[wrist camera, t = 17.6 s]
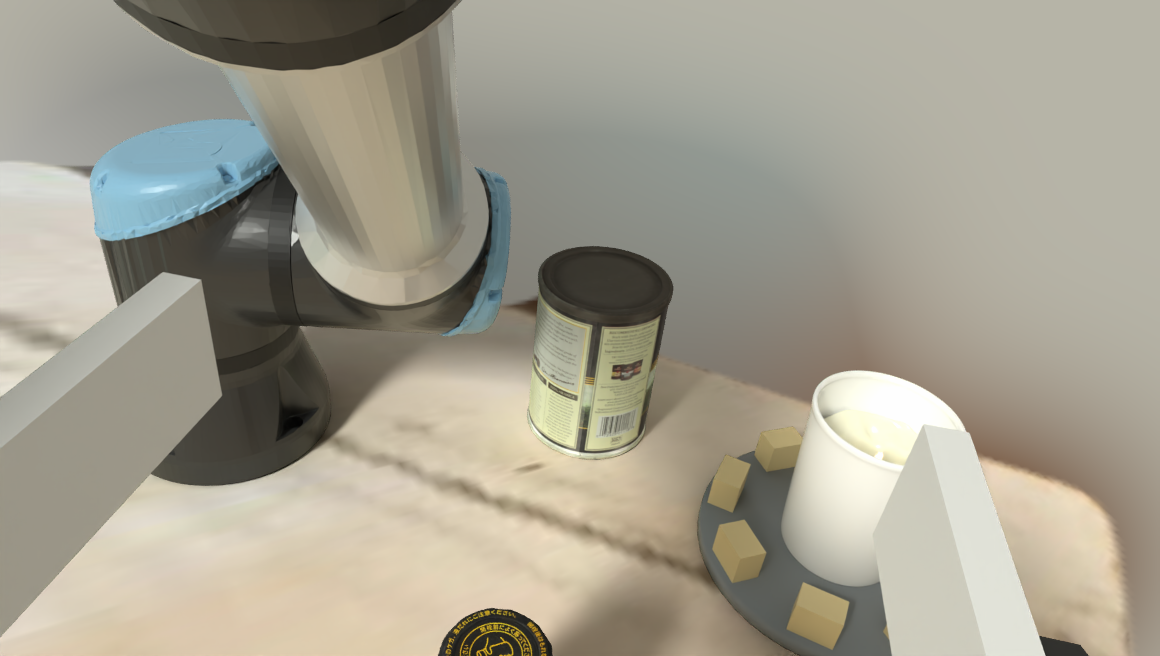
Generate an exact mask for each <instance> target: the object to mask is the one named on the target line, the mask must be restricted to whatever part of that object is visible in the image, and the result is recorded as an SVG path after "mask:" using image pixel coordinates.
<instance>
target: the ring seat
mask: <svg viewBox="0 0 1160 656" xmlns="http://www.w3.org/2000/svg"><path fill="white" fill-rule="evenodd" d="M802 439H803V438H802V437H801V435H800V434H799V433H798V432H797V430H796V429H795V428H794V427H787V428H781V429H775V430H769V431H763V432H761V434H760V438H759V441H758V444H757V447H756V451H753V452H750V453H747V454H745V455H742V456H740V457H738V458H733V457H731V456H728V455H725V457H724V459H723V461H722V463H721V465H720V467H719V469H718V471H717V473H716V475H715V476H714V477H713V479H712V480H711V482H710V483H709V485H708V487H707V489H706V491H705V494H704V497H703V500H702V503H701V507H700V511H699V517H698V540H699V546H700V551H701V554H702V557H703V560H704V563H705V565H706V567H707V569H708V571H709V573H710V575H711V577H712V579H713V581H714V582H715V584H716V585H717V587H718V588H719V590H720V591H721V593H722V594H723V595H724V597H725V598H726V599H727V600H728V601H729V603H730V604H731V605H732V606H733V607H734V609H735V610H736V611H738V612H739V613H740V614H741V615H742V616H743V617H744V618H745V619H746V620H747V621H748V622H749V623H750V624H751V625H753V626H754V627H755V628H756V629H758V630H759V631H760V632H762V633H763V634H764V635H765V636H767V637H768V638H770V639H772V640H773V641H775V642H776V643H778V644H779V645H781V646H782V647H784V648H786V649H788V650H790V651H792V652H794V653H796V654H798V655H800V656H892V653H891V647H890V640H889V634H888V628H887V622H886V615H885V609H884V603H883V596H882V590H881V584H880V582H878V583H876V584H873V585H869V586H863V587H852V586H844V585H840V584H836V583H833V582H830V581H827V580H825V579H823V578H821V577H819V576H817V575H815V574H814V573H812V572H810V571H809V570H808V569H806V568H805V567H804V566H803V565H801V564H800V563H799V562H798V561H797V560H796V559H795V558H794V556H793V555H792V554H791V553H790V551H789V550H788V548H787V546H786V544H785V542H784V540H783V537H782V533H781V519H782V514H783V510H784V506H785V502H786V498H787V494H788V490H789V487H790V483H791V479H792V475H793V472H794V468H795V464H796V461H797V457H798V453H799V450H800V446H801V442H802Z"/></svg>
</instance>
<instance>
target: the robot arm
mask: <svg viewBox="0 0 1160 656" xmlns="http://www.w3.org/2000/svg"><path fill="white" fill-rule="evenodd" d="M114 1H115V2H116V3H117V5H118V6H119V7H120V8H121V9H122V10H123V11H124V12H125V13H126V14H127V15H128V16H129V17H131V18H132V19H133V20H134V21H135V22H136V23H138V24H139V25H140V26H141V27H142V28H143V29H145V30H147V31H148V32H150V33H151V34H153V35H155V36H157V37H158V38H160V39H161V40H163V41H165V42H166V43H168V44H170V45H172V46H173V47H175V48H177V49H179V50H181V51H183V52H185V53H187V54H189V55H191V56H193V57H195V58H198V59H201V60H204V61H207V62H210V63H213V64H216V65H218V66H219V67H220V69H221V70H222V72H223V74H224V75H225V77H226V78H227V80H228V82H229V83H230V85H231V87H232V88H233V90H234V91H235V93H236V94H237V96H238V98H239V99H240V101H241V103H242V104H243V106H244V107H245V109H246V111H247V112H248V114H249V115H250V117H251V119H252V120H253V121H246V120H235V119H214V120H201V121H193V122H186V123H180V124H175V125H171V126H166V127H162V128H158V129H155V130H152V131H148V132H146V133H142V134H139V135H137V136H135V137H132V138H130V139H128V140H126V141H124V142H122V143H120V144H118V145H116V146H115V147H113V148H112V149H110V150H109V151H108V152H107V153H105V154H104V155H103V156H102V157H101V158H100V159H99V161H98V162H97V163H96V165H95V166H94V168H93V170H92V173H91V178H90V190H91V196H92V203H93V209H94V216H95V228H94V229H95V233H96V235H97V236H98V237H99V238H100V242H101V245H102V249H103V253H104V257H105V261H106V264H107V268H108V272H109V276H110V280H111V283H112V287H113V291H114V295H115V299H116V302H117V306H118V307H117V308H116V309H114V310H113V311H112V312H110V313H109V314H108V315H107V316H105V317H104V318H103V319H101V320H100V321H99V322H97V323H96V324H95V325H94V326H92V327H91V328H90V329H88V330H87V331H86V332H85V333H83V334H82V335H81V336H79V337H78V338H77V339H75V340H74V341H73V342H72V343H70V344H69V345H68V346H66V347H65V348H64V349H63V350H61V351H60V352H59V353H57V354H56V355H55V356H53V357H52V358H51V359H50V360H48V361H47V362H46V363H44V364H43V365H42V366H41V367H39V368H38V369H37V370H35V371H34V372H33V373H32V374H30V375H29V376H28V377H26V378H25V379H24V380H22V381H21V382H20V383H19V384H17V385H16V386H15V387H13V388H12V389H11V390H10V391H8V392H7V393H6V394H4V395H3V396H2V397H0V637H1V636H2V635H3V634H4V633H5V632H6V630H7V629H8V628H9V627H10V626H11V625H12V624H13V623H14V622H15V621H16V620H17V619H18V617H19V616H20V615H21V614H22V613H23V612H24V611H25V610H26V609H27V608H28V607H29V605H30V604H31V603H32V602H33V601H34V600H35V599H36V598H37V597H38V596H39V595H40V593H41V592H42V591H43V590H44V589H45V588H46V587H47V586H48V585H49V584H50V583H51V581H52V580H53V579H54V578H55V577H56V576H57V575H58V574H59V573H60V572H61V571H62V569H63V568H64V567H65V566H66V565H67V564H68V563H69V562H70V561H71V560H72V559H73V558H74V556H75V555H76V554H77V553H78V552H79V551H80V550H81V549H82V548H83V547H84V546H85V544H86V543H87V542H88V541H89V540H90V539H91V538H92V537H93V536H94V535H95V534H96V532H97V531H98V530H99V529H100V528H101V527H102V526H103V525H104V524H105V523H106V522H107V520H108V519H109V518H110V517H111V516H112V515H113V514H114V513H115V512H116V511H117V510H118V509H119V507H120V506H121V505H122V504H123V503H124V502H125V501H126V500H127V499H128V498H129V497H130V495H131V494H132V493H133V492H134V491H135V490H136V489H137V488H138V487H139V486H140V485H141V483H142V482H143V481H144V480H145V479H146V478H147V477H148V476H149V475H150V474H153V475H154V476H157V477H159V478H162V479H165V480H168V481H172V482H176V483H181V484H188V485H223V484H231V483H237V482H242V481H246V480H250V479H254V478H257V477H260V476H263V475H266V474H269V473H271V472H274V471H276V470H278V469H280V468H282V467H284V466H286V465H288V464H290V463H291V462H293V461H295V460H296V459H298V458H299V457H300V456H302V455H303V454H305V453H306V452H307V451H308V450H309V449H310V448H311V447H312V446H313V445H314V444H315V443H316V442H317V441H318V440H319V438H320V437H321V436H322V434H323V433H324V431H325V429H326V427H327V425H328V422H329V419H330V413H331V405H330V394H329V385H328V381H327V378H326V375H325V373H324V371H323V369H322V367H321V366H320V364H319V362H318V360H317V358H316V356H315V355H314V353H313V351H312V349H311V347H310V345H309V343H308V342H307V340H306V338H305V336H304V334H303V332H302V330H301V329H300V326H315V327H332V328H349V329H366V330H383V331H400V332H417V333H434V334H441V335H442V336H454V335H456V334H476V333H481V332H483V331H485V330H486V329H488V328H489V327H490V326H491V325H492V324H493V322H494V320H495V318H496V316H497V314H498V311H499V308H500V304H501V299H502V287H503V286H504V282H505V278H506V272H507V264H508V254H509V244H510V224H511V222H510V221H511V208H510V196H509V190H508V188H507V183H506V181H505V179H504V178H503V177H502V176H501V175H499V174H498V173H495V172H489V171H486V170H484V169H483V168H476V167H473V165H472V164H471V163H470V161H469V160H468V159H467V157H466V156H465V155H464V154H463V153H462V152H461V151H460V134H459V117H458V101H457V86H456V85H457V84H456V70H455V69H456V68H455V51H454V35H453V19H452V10H453V9H454V8H455V7H456V6H457V5H458V4H459V3H460V2H461V1H462V0H114ZM873 540H874V546H875V552H876V559H877V565H878V571H879V577H880V584H881V590H882V596H883V603H884V609H885V615H886V622H887V628H888V634H889V640H890V647H891V653H892V656H1088V654H1087V653H1086V652H1085V650H1084V649H1083V648H1082V647H1081V645H1078V644H1074V643H1069V642H1064V641H1060V640H1055V639H1051V638H1046V637H1042V636H1039V635H1038V632H1037V629H1036V626H1035V623H1034V620H1033V617H1032V615H1031V612H1030V609H1029V606H1028V603H1027V600H1026V597H1025V594H1024V591H1023V588H1022V585H1021V582H1020V579H1019V576H1018V573H1017V571H1016V568H1015V565H1014V562H1013V559H1012V556H1011V553H1010V550H1009V547H1008V544H1007V541H1006V538H1005V535H1004V532H1003V529H1002V527H1001V524H1000V521H999V518H998V515H997V512H996V509H995V506H994V503H993V500H992V497H991V494H990V491H989V488H988V485H987V483H986V480H985V477H984V474H983V471H982V468H981V465H980V462H979V459H978V456H977V453H976V450H975V448H974V444H973V441H972V439H971V436H970V433H968V432H963V431H958V430H953V429H948V428H943V427H938V426H933V425H928V424H923V426H922V428H921V430H920V432H919V434H918V436H917V439H916V441H915V443H914V445H913V447H912V450H911V452H910V454H909V456H908V458H907V460H906V463H905V465H904V467H903V469H902V471H901V474H900V476H899V478H898V480H897V482H896V485H895V487H894V489H893V491H892V493H891V495H890V498H889V500H888V502H887V504H886V506H885V509H884V511H883V513H882V515H881V517H880V519H879V522H878V524H877V526H876V528H875V530H874V533H873Z"/></svg>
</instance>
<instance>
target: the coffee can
mask: <svg viewBox="0 0 1160 656" xmlns="http://www.w3.org/2000/svg"><path fill="white" fill-rule="evenodd" d="M538 283H539V294H538V305H537V317H536V329H535V341H534V352H533V365H532V377H531V389H530V402H529V407H528V412H527V419H528V423H529V425H530V428H531V430H532V431H533V433H534V434H535V435H536V437H537V438H538V439H539V440H540V441H542V442H543V443H544V444H545V445H547V446H548V447H550V448H551V449H553V450H556V451H558V452H560V453H562V454H565V455H568V456H571V457H576V458H582V459H595V460H597V459H604V458H611V457H615V456H618V455H621V454H623V453H625V452H627V451H629V450H630V449H632V448H633V447H635V446H636V445H637V444H638V442H639V441H640V440H641V438H642V437H643V435H644V432H645V426H646V417H647V412H648V407H649V401H650V397H651V391H652V386H653V381H654V376H655V370H656V365H657V360H658V355H659V350H660V345H661V339H662V334H663V330H664V325H665V319H666V314H667V309H668V305H669V303H670V301H671V298H672V294H673V284H672V281H671V279H670V277H669V276H668V274H667V273H666V272H665V271H664V270H663V269H662V268H661V267H660V266H659V265H657V264H656V263H654V262H653V261H651V260H649V259H647V258H645V257H643V256H641V255H638V254H635V253H632V252H629V251H625V250H621V249H616V248H609V247H599V246H589V247H576V248H571V249H567V250H563V251H561V252H558V253H555V254H553V255H552V256H550V257H549V258H547V259H546V260H545V261H544V262H543V264H542V265H541V267H540V269H539V273H538Z"/></svg>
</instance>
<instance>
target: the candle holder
mask: <svg viewBox="0 0 1160 656" xmlns="http://www.w3.org/2000/svg"><path fill="white" fill-rule="evenodd" d="M923 424H928V425H933V426H938V427H943V428H948V429H953V430H958V431H963V432H966V429H965V427H964V425H963V423H962V422H961V420H960V419H959V417H958V416H957V415H956V414H955V412H954V411H953V410H952V409H951V408H950V407H949V406H948V405H947V404H945V403H944V402H943V401H942V400H940V399H939V398H938V397H936V396H935V395H933V394H932V393H930V392H929V391H927V390H925V389H924V388H922V387H920V386H918V385H916V384H914V383H911V382H909V381H907V380H904V379H901V378H898V377H895V376H891V375H888V374H884V373H879V372H872V371H845V372H840V373H836V374H833V375H831V376H829V377H827V378H826V379H824V380H823V381H821V382H820V383H819V385H818V386H817V387H816V389H815V391H814V394H813V398H812V405H811V409H810V413H809V417H808V420H807V424H806V428H805V431H804V435H803V439H802V442H801V446H800V450H799V453H798V457H797V461H796V464H795V468H794V472H793V475H792V479H791V483H790V487H789V490H788V494H787V498H786V502H785V506H784V510H783V514H782V519H781V533H782V537H783V540H784V542H785V544H786V546H787V548H788V550H789V551H790V553H791V554H792V555H793V556H794V558H795V559H796V560H797V561H798V562H799V563H800V564H801V565H803V566H804V567H805V568H806V569H808V570H809V571H810V572H812V573H814V574H815V575H817V576H819V577H821V578H823V579H825V580H827V581H830V582H833V583H836V584H840V585H844V586H852V587H863V586H869V585H873V584H876V583H878V582H880V577H879V571H878V565H877V559H876V552H875V546H874V540H873V533H874V530H875V528H876V526H877V524H878V522H879V519H880V517H881V515H882V513H883V511H884V509H885V506H886V504H887V502H888V500H889V498H890V495H891V493H892V491H893V489H894V487H895V485H896V482H897V480H898V478H899V476H900V474H901V471H902V469H903V467H904V465H905V463H906V460H907V458H908V456H909V454H910V452H911V450H912V447H913V445H914V443H915V441H916V439H917V436H918V434H919V432H920V430H921V428H922V426H923Z"/></svg>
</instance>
